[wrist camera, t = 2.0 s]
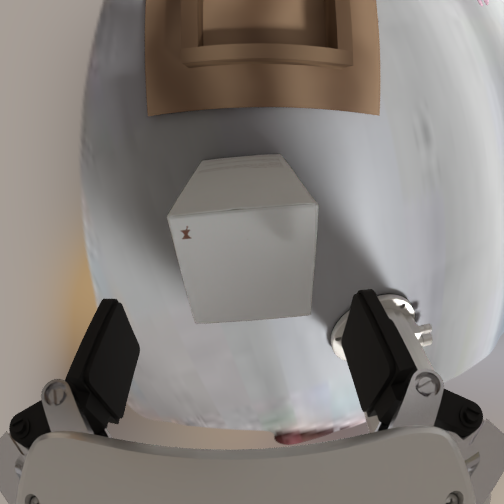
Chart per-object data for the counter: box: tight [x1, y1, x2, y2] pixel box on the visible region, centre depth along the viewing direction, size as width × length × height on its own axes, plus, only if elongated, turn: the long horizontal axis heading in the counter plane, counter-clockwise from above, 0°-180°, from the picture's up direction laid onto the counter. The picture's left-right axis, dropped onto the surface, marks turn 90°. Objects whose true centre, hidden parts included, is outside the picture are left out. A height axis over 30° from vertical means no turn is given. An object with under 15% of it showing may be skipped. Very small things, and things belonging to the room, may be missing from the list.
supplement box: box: [167, 154, 319, 324], centre depth 20 cm, size 7×7×13 cm
